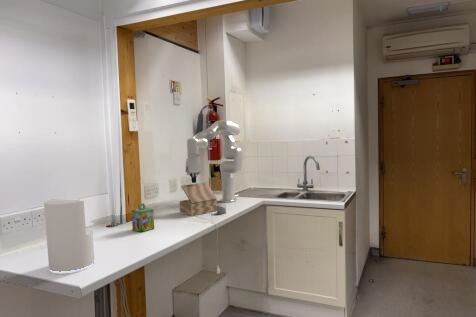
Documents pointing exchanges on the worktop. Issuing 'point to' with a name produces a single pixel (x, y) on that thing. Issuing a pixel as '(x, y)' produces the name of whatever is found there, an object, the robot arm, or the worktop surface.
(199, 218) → the worktop surface
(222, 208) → the grey knob post
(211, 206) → the storage box
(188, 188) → the lid
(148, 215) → the green lunch box
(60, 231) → the cylinder
